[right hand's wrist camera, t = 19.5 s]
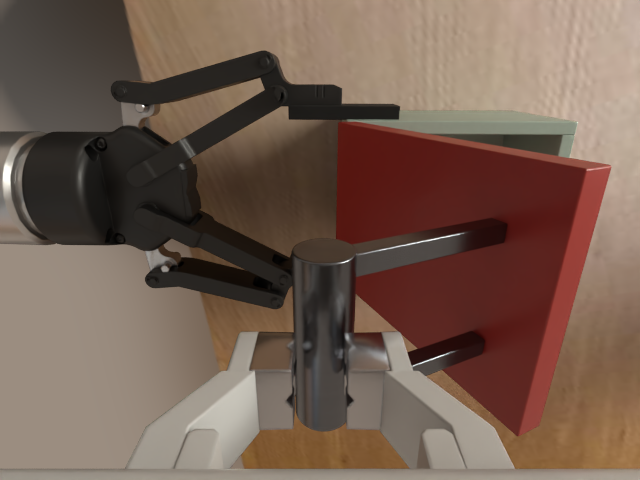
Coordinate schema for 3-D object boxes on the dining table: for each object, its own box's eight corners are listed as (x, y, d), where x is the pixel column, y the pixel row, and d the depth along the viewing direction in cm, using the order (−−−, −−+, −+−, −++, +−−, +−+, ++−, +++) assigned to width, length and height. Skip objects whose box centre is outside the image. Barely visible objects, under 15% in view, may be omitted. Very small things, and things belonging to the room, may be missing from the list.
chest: (513, 110, 30) (578, 121, 22) (493, 227, 34) (542, 272, 26) (342, 110, 30) (346, 120, 23) (339, 225, 34) (342, 269, 26)
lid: (613, 165, 11) (339, 203, 7) (539, 426, 14) (331, 534, 11) (355, 121, 22) (201, 128, 19) (350, 272, 26) (220, 301, 22)
